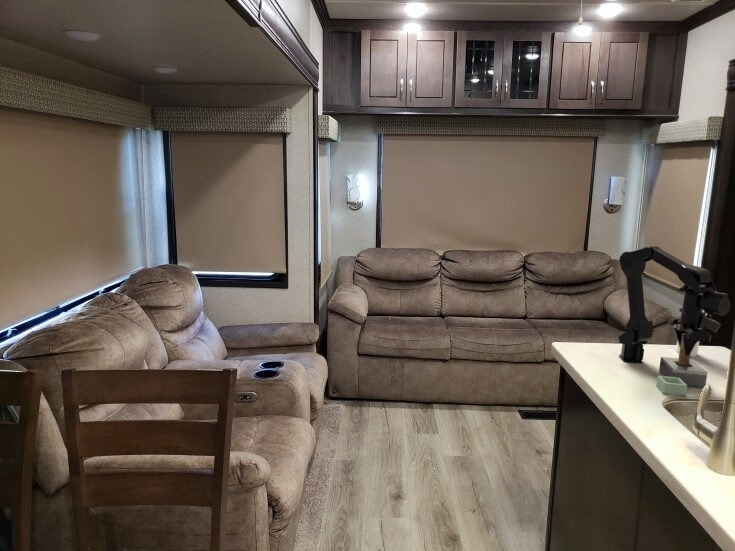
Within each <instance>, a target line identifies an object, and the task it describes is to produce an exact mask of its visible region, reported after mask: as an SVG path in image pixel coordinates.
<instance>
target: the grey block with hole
mask: <svg viewBox="0 0 735 551" xmlns="http://www.w3.org/2000/svg"><path fill="white" fill-rule="evenodd" d="M678 359H679V357H667V356H666V357H665V356H661V357H660V360H659V361H660V363H659V367H658V373H659V374H660V376H666V377H678V378H680V379H681V380H682V381H683V382H684V383H685V384H686V385H687V388H694V389H704V388H703V387H704V386H705V387H706V384H707V378H708V371H707V370H706V369H705V368H703V366H701V365H699V364H698V363H697V362H696V361H695V360H694V359H691V358H690V361H689V367H683V366H678Z"/></svg>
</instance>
